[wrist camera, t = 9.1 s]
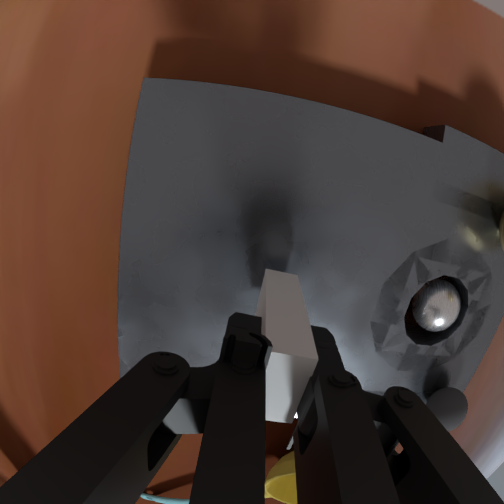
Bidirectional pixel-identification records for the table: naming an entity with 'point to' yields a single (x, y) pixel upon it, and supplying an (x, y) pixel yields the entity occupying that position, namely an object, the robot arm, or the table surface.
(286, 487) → the ladle
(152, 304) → the grey flat slab
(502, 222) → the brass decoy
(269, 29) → the table surface
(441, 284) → the steel ball
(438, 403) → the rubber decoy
